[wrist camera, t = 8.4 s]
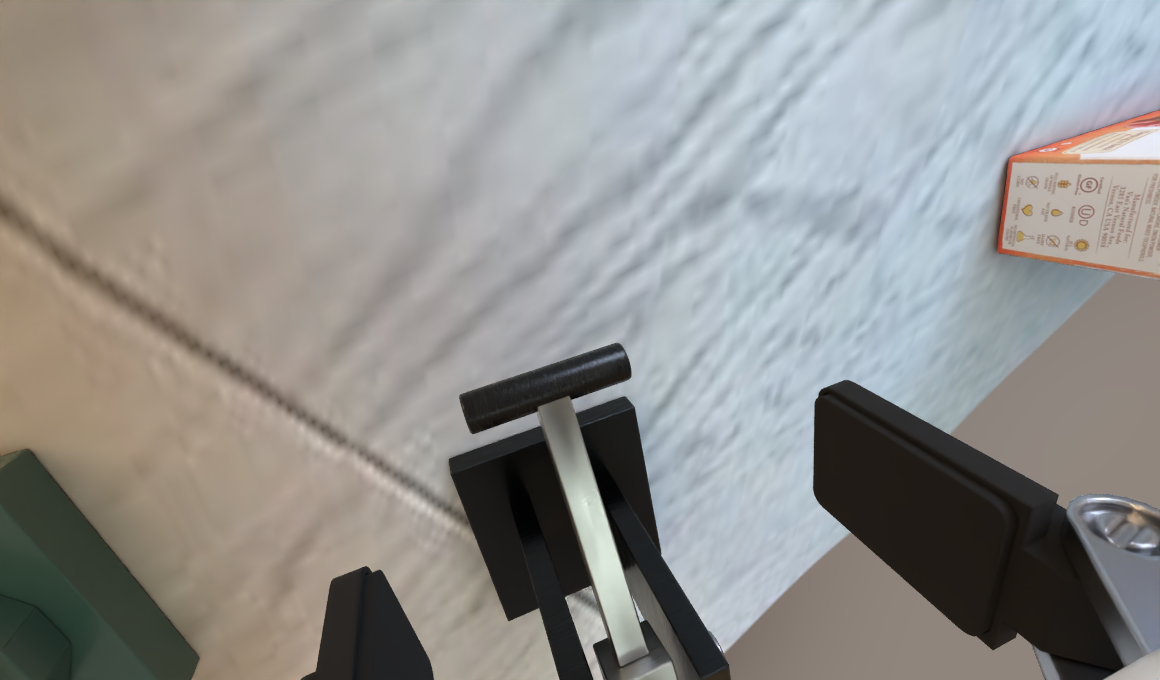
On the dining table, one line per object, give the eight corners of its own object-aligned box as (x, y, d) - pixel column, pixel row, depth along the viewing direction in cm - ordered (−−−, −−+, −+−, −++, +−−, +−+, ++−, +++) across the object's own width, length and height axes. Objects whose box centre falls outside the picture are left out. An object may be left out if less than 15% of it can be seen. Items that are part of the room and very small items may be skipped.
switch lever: (459, 390, 17) (457, 400, 14) (608, 341, 18) (629, 342, 16) (571, 733, 18) (587, 794, 16) (706, 667, 19) (739, 714, 17)
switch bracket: (448, 458, 23) (481, 717, 13) (625, 395, 25) (782, 575, 14) (504, 603, 27) (564, 889, 17) (652, 540, 29) (791, 761, 18)
